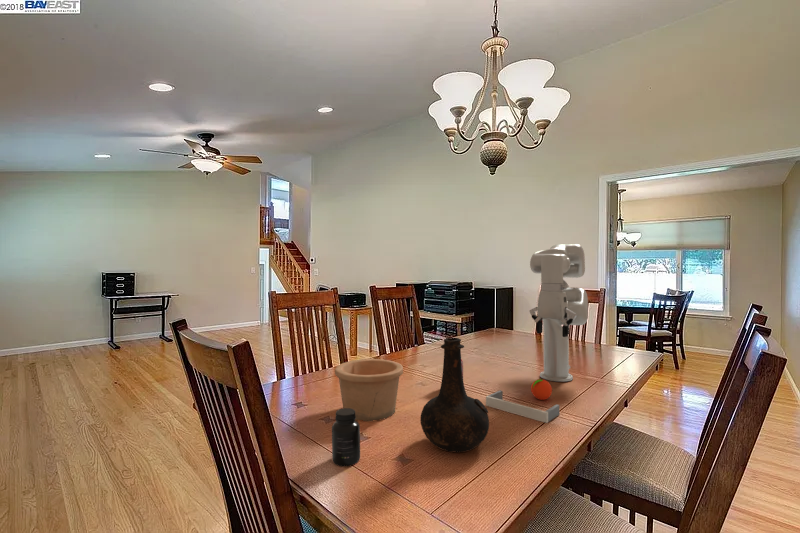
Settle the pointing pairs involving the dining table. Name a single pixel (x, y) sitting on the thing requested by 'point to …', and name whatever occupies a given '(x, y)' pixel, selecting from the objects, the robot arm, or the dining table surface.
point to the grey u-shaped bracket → (521, 408)
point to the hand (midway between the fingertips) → (552, 334)
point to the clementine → (541, 389)
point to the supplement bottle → (345, 438)
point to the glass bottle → (454, 408)
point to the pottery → (369, 387)
